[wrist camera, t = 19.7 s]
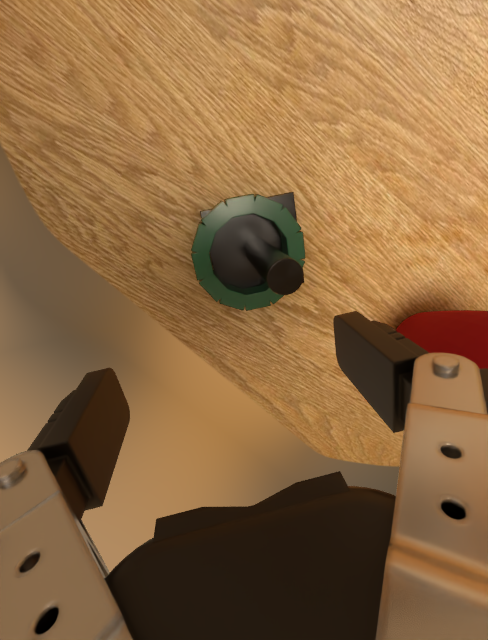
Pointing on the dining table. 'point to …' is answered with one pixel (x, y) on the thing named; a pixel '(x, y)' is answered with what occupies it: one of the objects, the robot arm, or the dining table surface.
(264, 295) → the ring
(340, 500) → the robot arm
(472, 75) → the dining table surface
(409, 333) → the vase
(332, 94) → the dining table surface
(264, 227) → the post
